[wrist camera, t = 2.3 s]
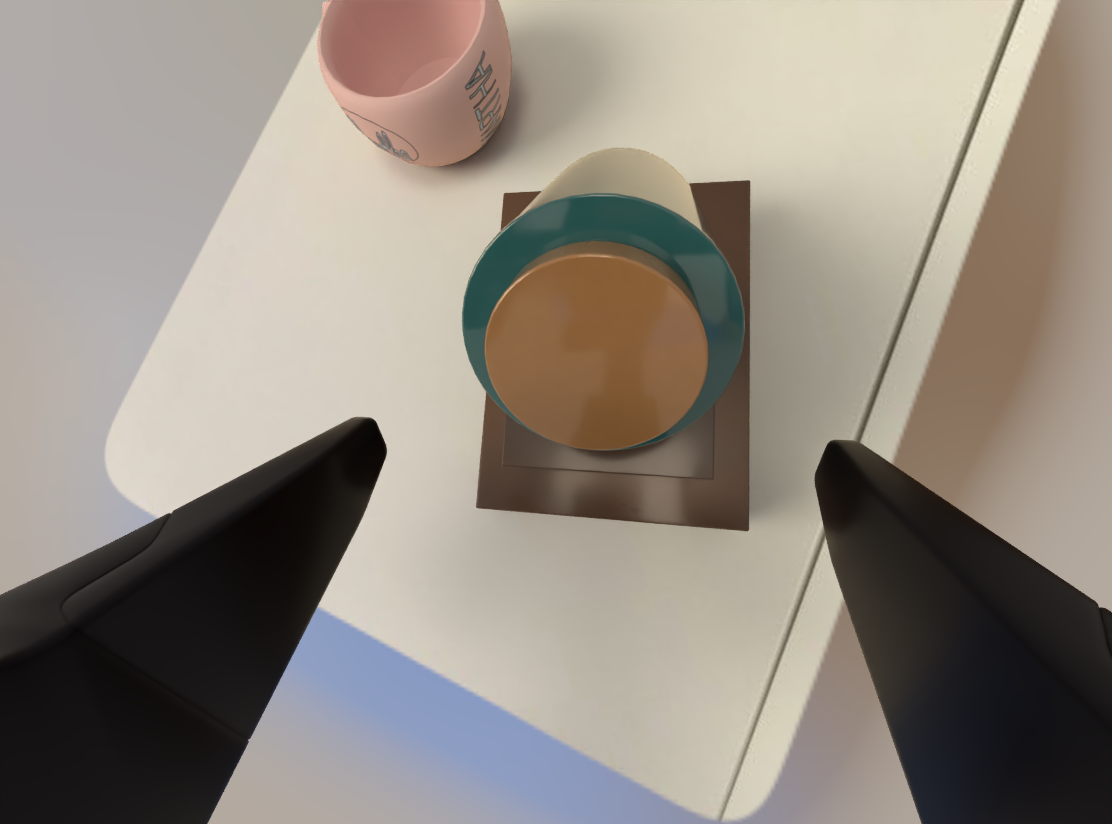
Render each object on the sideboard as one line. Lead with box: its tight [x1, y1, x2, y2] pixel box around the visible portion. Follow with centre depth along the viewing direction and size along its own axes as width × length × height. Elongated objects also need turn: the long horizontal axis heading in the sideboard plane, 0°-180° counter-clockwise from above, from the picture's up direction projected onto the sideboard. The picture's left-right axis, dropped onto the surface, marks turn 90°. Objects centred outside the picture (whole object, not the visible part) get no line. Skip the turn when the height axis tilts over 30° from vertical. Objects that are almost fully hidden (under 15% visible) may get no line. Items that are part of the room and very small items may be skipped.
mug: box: [317, 0, 512, 166], centre depth 24 cm, size 12×10×6 cm
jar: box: [462, 148, 745, 450], centre depth 14 cm, size 11×7×11 cm, turn 176°
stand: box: [476, 180, 750, 531], centre depth 20 cm, size 16×12×6 cm
